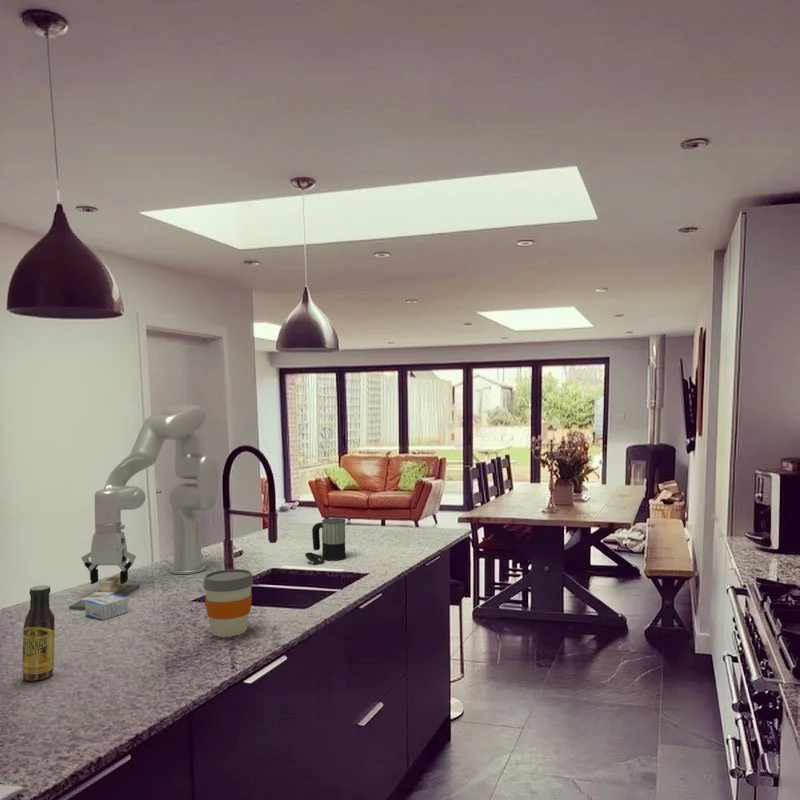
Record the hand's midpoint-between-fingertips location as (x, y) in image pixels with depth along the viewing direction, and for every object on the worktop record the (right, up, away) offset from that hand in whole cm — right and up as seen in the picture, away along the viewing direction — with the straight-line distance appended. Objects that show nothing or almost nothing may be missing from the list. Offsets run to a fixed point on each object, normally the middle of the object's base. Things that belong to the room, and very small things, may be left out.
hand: (109, 582), depth 213 cm
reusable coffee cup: (+47, -3, -36) cm, 60 cm away
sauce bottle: (+12, -4, -63) cm, 64 cm away
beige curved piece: (0, -3, -2) cm, 4 cm away
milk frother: (+64, -3, +43) cm, 77 cm away
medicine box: (+10, -2, -15) cm, 18 cm away
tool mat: (0, -4, -2) cm, 5 cm away
